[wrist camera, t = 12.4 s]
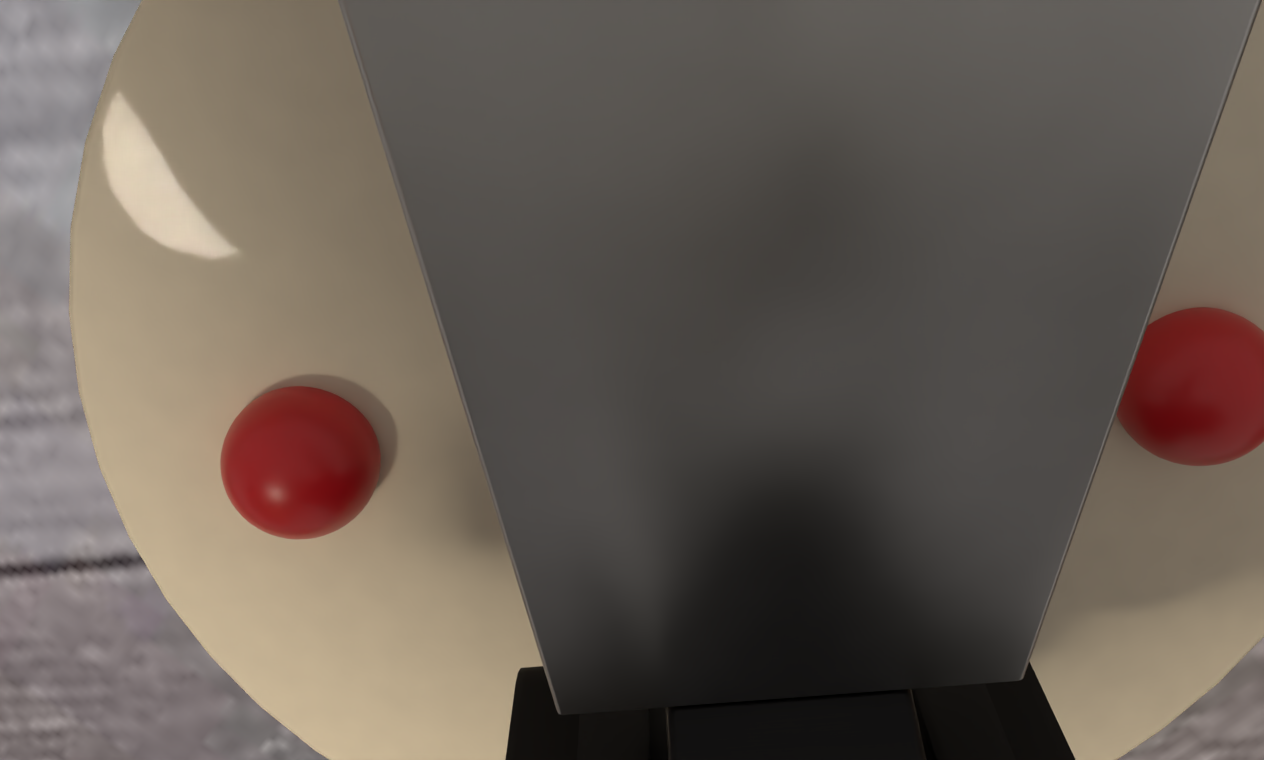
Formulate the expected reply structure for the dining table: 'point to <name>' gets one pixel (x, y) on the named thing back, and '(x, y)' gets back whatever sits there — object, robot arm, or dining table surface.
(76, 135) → the dining table surface
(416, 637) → the cake
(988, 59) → the knife
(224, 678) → the dining table surface
